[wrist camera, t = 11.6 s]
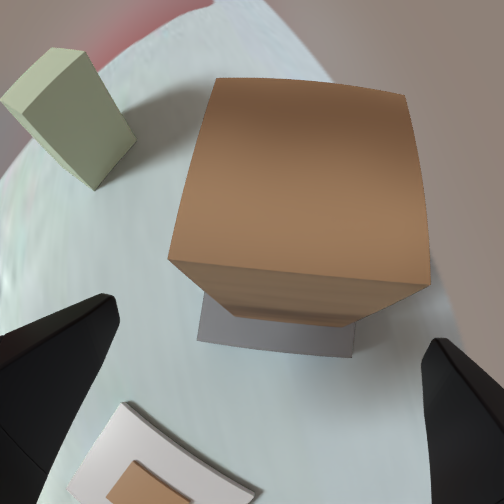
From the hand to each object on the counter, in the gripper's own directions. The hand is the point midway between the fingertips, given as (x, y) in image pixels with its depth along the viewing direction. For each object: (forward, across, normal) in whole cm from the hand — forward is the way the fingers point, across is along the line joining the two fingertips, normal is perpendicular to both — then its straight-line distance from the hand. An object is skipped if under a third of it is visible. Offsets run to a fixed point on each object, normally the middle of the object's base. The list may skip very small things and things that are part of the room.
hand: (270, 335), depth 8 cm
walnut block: (+8, 0, +3) cm, 9 cm away
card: (-1, +6, +16) cm, 17 cm away
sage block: (+16, +17, -2) cm, 23 cm away
